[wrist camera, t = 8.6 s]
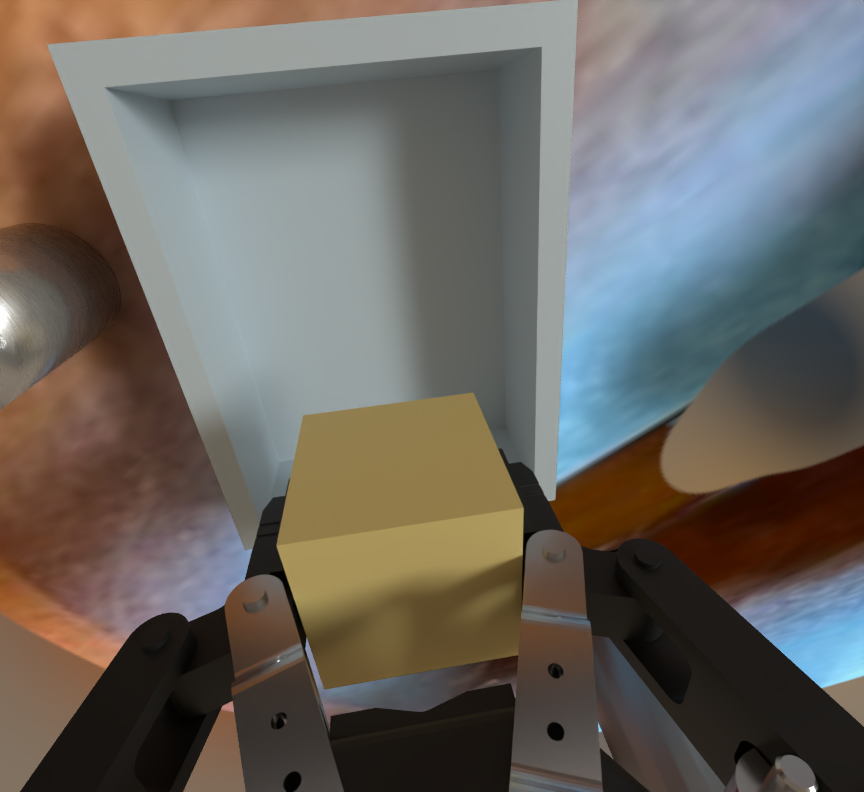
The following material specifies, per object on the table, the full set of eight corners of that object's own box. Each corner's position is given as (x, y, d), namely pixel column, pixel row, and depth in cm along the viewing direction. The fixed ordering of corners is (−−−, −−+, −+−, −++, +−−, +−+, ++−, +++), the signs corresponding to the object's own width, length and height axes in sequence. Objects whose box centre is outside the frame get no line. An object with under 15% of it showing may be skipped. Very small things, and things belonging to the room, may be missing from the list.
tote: (520, 434, 27) (555, 499, 22) (267, 473, 26) (245, 549, 21) (519, 36, 18) (578, -2, 13) (136, 71, 17) (47, 44, 12)
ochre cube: (473, 392, 14) (523, 507, 10) (478, 517, 17) (520, 654, 12) (302, 415, 14) (276, 545, 9) (333, 540, 16) (324, 689, 12)
